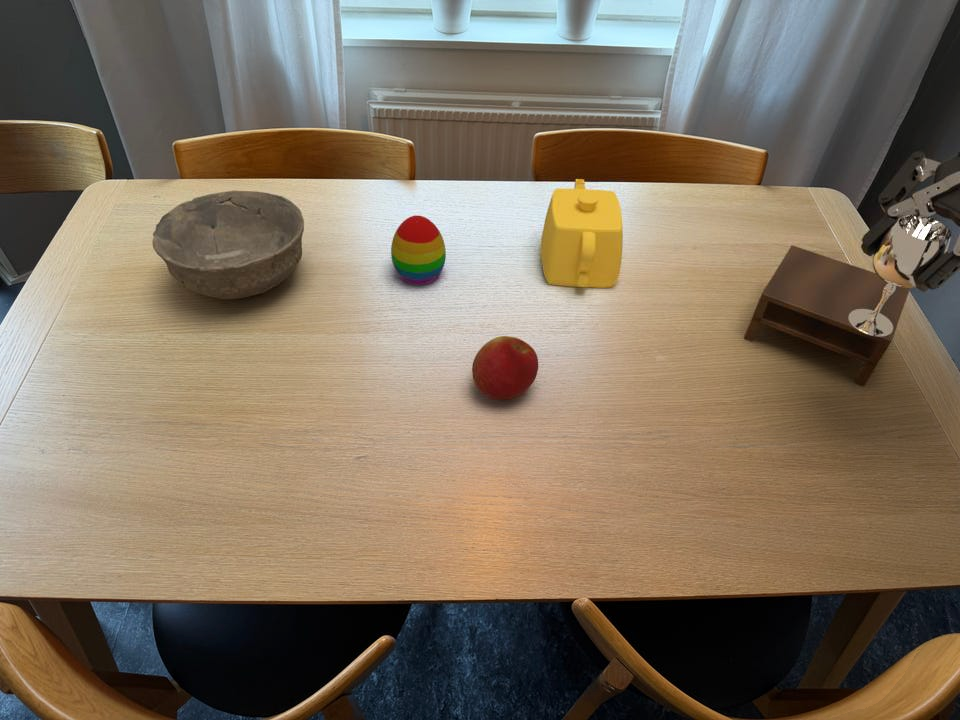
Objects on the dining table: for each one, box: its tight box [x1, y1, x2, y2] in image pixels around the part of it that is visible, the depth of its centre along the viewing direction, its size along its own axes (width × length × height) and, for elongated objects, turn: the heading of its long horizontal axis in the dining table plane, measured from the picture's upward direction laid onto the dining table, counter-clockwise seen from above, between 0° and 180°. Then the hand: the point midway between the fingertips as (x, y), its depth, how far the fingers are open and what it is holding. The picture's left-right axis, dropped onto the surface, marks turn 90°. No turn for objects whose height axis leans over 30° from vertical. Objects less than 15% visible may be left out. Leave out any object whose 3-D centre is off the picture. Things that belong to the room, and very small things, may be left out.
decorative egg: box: [390, 215, 447, 285], centre depth 98 cm, size 8×8×10 cm
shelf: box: [743, 244, 912, 387], centre depth 91 cm, size 16×14×8 cm
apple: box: [471, 335, 539, 401], centre depth 82 cm, size 8×8×8 cm
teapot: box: [540, 178, 624, 289], centre depth 101 cm, size 20×12×12 cm, turn 177°
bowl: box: [151, 190, 305, 300], centre depth 96 cm, size 21×21×10 cm
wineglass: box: [848, 215, 952, 337], centre depth 67 cm, size 6×6×12 cm
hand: (891, 268), depth 65 cm, fingers closed on wineglass, 5 cm apart
